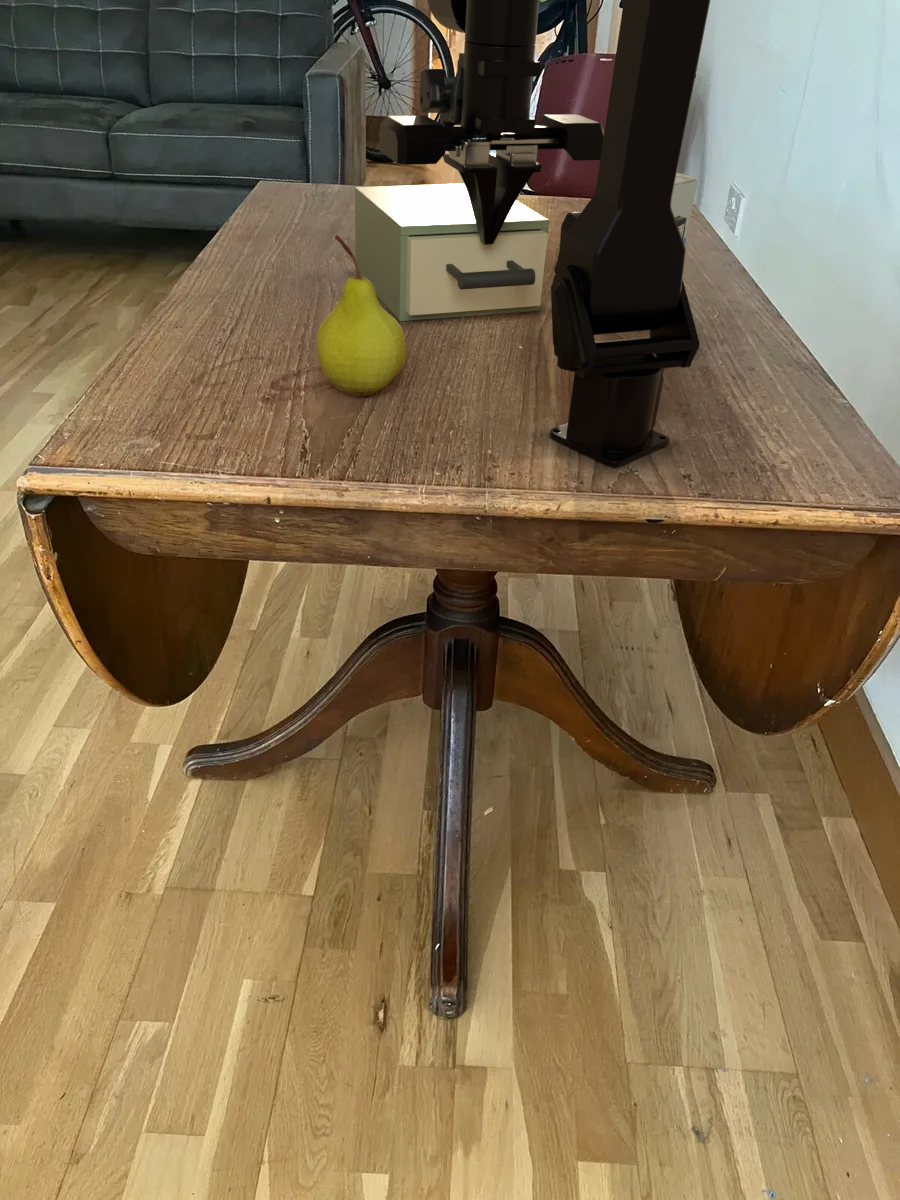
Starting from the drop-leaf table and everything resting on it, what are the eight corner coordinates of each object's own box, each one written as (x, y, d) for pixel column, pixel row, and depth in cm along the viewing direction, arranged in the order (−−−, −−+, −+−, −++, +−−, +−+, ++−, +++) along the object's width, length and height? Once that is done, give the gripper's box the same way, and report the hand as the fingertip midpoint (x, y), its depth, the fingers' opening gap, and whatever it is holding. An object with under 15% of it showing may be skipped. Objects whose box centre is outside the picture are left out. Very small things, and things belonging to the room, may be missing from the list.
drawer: (562, 322, 88) (571, 247, 84) (426, 334, 84) (429, 255, 80) (485, 263, 102) (490, 197, 98) (367, 270, 98) (366, 201, 94)
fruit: (409, 378, 78) (413, 226, 71) (399, 412, 72) (402, 252, 65) (326, 372, 78) (321, 220, 71) (310, 406, 72) (303, 245, 65)
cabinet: (540, 310, 93) (549, 219, 88) (399, 321, 89) (400, 226, 84) (482, 265, 105) (487, 182, 100) (355, 272, 100) (354, 186, 95)
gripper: (561, 35, 84) (543, 217, 93) (360, 31, 79) (362, 225, 88) (620, 49, 76) (594, 248, 85) (400, 45, 70) (398, 259, 79)
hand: (486, 243), depth 85 cm, fingers closed
